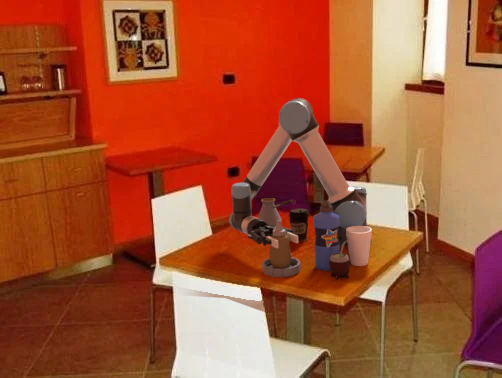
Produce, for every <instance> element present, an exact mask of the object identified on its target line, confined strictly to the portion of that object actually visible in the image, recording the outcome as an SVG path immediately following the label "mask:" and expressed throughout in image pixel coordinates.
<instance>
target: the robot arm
mask: <svg viewBox="0 0 502 378" xmlns="http://www.w3.org/2000/svg"><path fill="white" fill-rule="evenodd" d="M319 127H320V125H319V122H318V121H317V120H316V118H315V116H314V108H313V105H312V104H311V103H310V102H309V101H308V100H306V98H305V99H304V98H301V97H296V98H292V99H291V100H289V101H288V102H285V104H283V105H282V107H281V108H280V110H279V113H278V127H277V128H276V129H275V132H274V133H273V134H272V136H271V137H270V139H269V140H268V143H267V144H266V145H265V147H264V149H263V150H262V151H261V153H260V155H259V157H257V159H256V161H255V162H254V163H253V165H252V167H251V169H250V170H249V171H248V173H247V175H246V176H245V178H244V179H243V181H242V182H235V183H233V184H232V185H231V194H230V195H231V199H232V201H231V202H232V212H231V214H230V216H229V218H228V222H229V224H230V227H232V228H233V229H234V230H235V231H238V232H240V233H243V234H244V235H247V238H248V239H250V240H252V241H253V242H255V243H256V244H257V245H261V244H262V245H263V246H264V247H266V246H268V245H269V246H270V245H271V246H273V247H275V248H279V247H278V240H276V239H274V238H271V237H272V236H273V230H275V229H276V227H271V226H268V225H267V223H266V222H265V221H263V220H261V219H258V217H256V216H254V215H253V214H252V213H253V210H252V209H253V208H252V202H253V199H254V198H255V197H256V196H257V195H258V193H259V191H260V189H261V188H262V186H263V184H264V183H265V182H266V180H267V179H268V177H269V176H270V174H271V173H272V171H273V170H274V168H275V167H276V166H277V163H278V162H279V161H280V159H281V158H282V156H283V154H284V153H285V152H286V150H287V149H288V147H289V146H290V145H291V143H292V142H294V143H297V144H298V145H299V147H300V148H301V150H302V153H303V154H304V156H305V157H306V160H308V163H309V164H310V166H311V168H312V170H313V171H314V173H315V175H316V176H317V178H318V180H319V181H320V183H321V185H322V187H323V188H324V190H325V191H326V194H327V196H328V200H329V201H330V202H331V203H332V204H331V205H330V206H332V212H333V213H334V214H337V215H339V218H340V225H339V232H338V238H339V243H340V247H341V246H342V244H343V243H344V242H345V241H347V237H346V228H348V227H351V226H366V227H369V226H368V222H367V221H368V219H367V218H368V217H367V215H368V214H367V213H368V212H367V210H368V209H367V207H368V204H367V195H368V193H367V189H366V187H363V186H355V185H354V186H351V185H349V183H348V181H347V180H346V178H345V177H344V175H343V173H342V171H341V169H340V168H339V166H338V164H337V163H336V160H335V159H334V157H333V155H332V153H331V151H330V150H329V149H328V147H327V145H326V143H325V142H324V140H323V137H322V135H321V134H320V133H319ZM282 229H285V230H286V235H287V236H288V238H289V242H292V243H295V244H299V242H298V236H297V235H295V234H293V230H291V228H288V227H284V226H282ZM344 247H345V248H346V247H347V248H348V242H346V243H345V244H344ZM344 247H343V248H344Z"/></svg>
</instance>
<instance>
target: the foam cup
mask: <svg viewBox="0 0 502 378" xmlns="http://www.w3.org/2000/svg"><path fill="white" fill-rule="evenodd" d="M372 236H373V228H371V227H370V226H368V227H366V226H351V227H348V228H346V237H347V240H348V241H347V242H348V247H347V248H348V249H347V250H348V254H349V255H348V257H349V261H350V264H351V265H352V266H356V267H364V266H367V265H368V263H369V258H370V250H371V249H370V248H371V243H372Z"/></svg>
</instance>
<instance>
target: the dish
mask: <svg viewBox="0 0 502 378" xmlns="http://www.w3.org/2000/svg"><path fill="white" fill-rule="evenodd" d="M291 257H292V260H291V263H290V267H289V268H284V269H277V268H273V266H272V264H271V261H270V257H269V258H267V259H264V260H263V262H262V263H261V269H262V273H263V274H264V275H267V276H269V277H273V278H286V277H292V276H295V275H297V274H299V273H300V271H301V268H302V265H301V264H302V262H301V260H299V259H298V258H297V257H296V258H295V257H293V256H291Z"/></svg>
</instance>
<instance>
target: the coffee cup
mask: <svg viewBox="0 0 502 378" xmlns="http://www.w3.org/2000/svg"><path fill="white" fill-rule="evenodd" d="M309 216H310V213H309V212H308V209H306V208H295V209H294V208H293V209H291V210H290V211H289V213H288V219H289V224H290V225H289V227H290V229H291V230H293V234H295V235H297V236H298V243H300V242H305V241H307V240H308V237H307V234H308V228H309Z"/></svg>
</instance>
